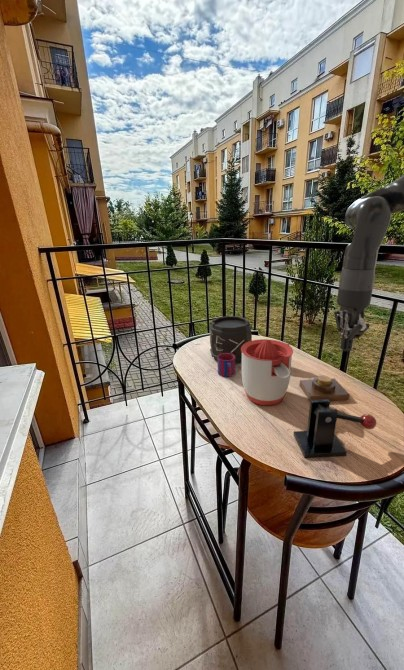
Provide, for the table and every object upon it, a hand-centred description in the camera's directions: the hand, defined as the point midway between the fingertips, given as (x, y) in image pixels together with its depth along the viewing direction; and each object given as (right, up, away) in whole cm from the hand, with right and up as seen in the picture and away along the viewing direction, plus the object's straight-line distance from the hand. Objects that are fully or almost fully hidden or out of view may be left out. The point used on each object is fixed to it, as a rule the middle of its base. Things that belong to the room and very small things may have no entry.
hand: (345, 349), depth 76 cm
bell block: (+1, -15, +16) cm, 22 cm away
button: (+1, -12, +15) cm, 19 cm away
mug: (-30, -11, +30) cm, 44 cm away
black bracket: (-10, -24, -5) cm, 26 cm away
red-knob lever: (-4, -18, -7) cm, 20 cm away
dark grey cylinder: (-27, -5, +45) cm, 53 cm away
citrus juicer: (-18, -16, +15) cm, 29 cm away
